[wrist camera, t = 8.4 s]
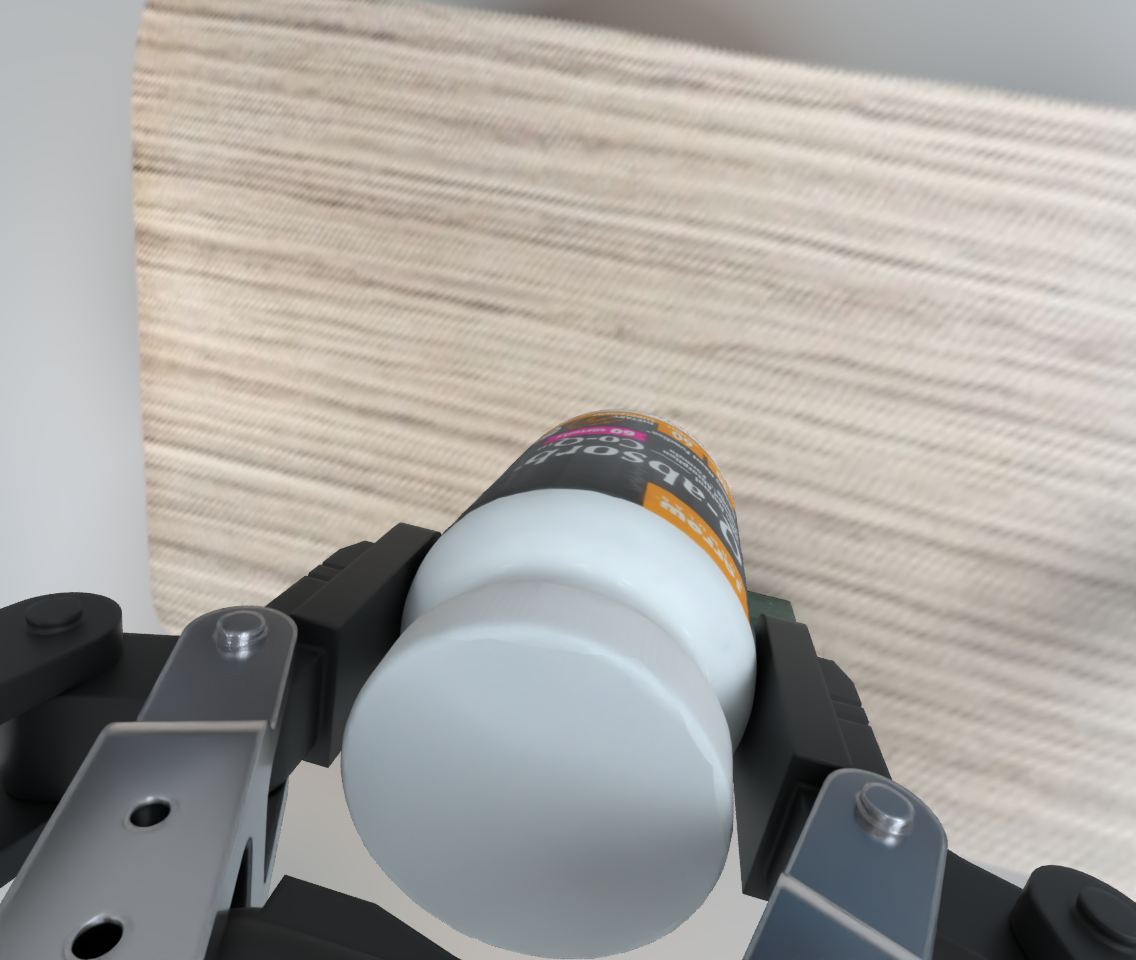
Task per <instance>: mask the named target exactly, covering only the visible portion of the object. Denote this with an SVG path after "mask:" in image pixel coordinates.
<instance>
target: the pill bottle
mask: <svg viewBox="0 0 1136 960" xmlns="http://www.w3.org/2000/svg"><path fill="white" fill-rule="evenodd" d="M756 676H757V661H756V635H755V632H754V628H753V625H752V622H751V614H750V609H749V602H748V592H747V587H746V579H745V573H744V566H743V557H742V553H741V547H740V540H739V533H738V526H737V519H736V513H735V509H734V503H733V499H732V495H731V493H730V490H729V487H728V485H727V482H726V480H725V477H724V475H723V474H722V472H721V470H720V468H719V466H718V465H717V463H716V462H715V460H714V459H713V458H712V456H711V455H710V453H709V452H708V451H707V450H706V449H705V448H704V447H703V445H702V444H701V443H700V442H699V441H697V440H696V439H695V438H694V437H693V436H691V435H690V434H689V433H688V432H686V431H685V430H683V429H682V428H680V427H679V426H677V425H675V424H673V423H671V422H669V421H667V420H665V419H662V418H660V417H657V416H654V415H651V414H647V413H643V412H639V411H632V410H624V409H611V410H600V411H594V412H590V413H586V414H583V415H579V416H577V417H574V418H572V419H569V420H567V421H565V422H563V423H561V424H559V425H558V426H556V427H555V428H553V429H552V430H550V431H549V432H547V433H546V434H545V435H543V436H542V437H541V438H540V439H538V440H537V441H536V442H535V443H534V444H533V445H532V446H531V447H530V448H528V449H527V450H526V451H525V452H524V453H523V454H522V455H521V456H520V457H519V458H518V459H517V460H516V461H515V462H514V463H513V464H512V465H511V466H510V467H509V468H508V469H507V470H506V471H505V472H504V473H503V474H502V476H501V477H500V478H499V479H498V480H497V481H495V482H494V483H493V484H492V485H491V486H490V487H489V488H488V489H487V490H486V491H485V492H484V493H482V495H481V496H480V497H479V498H478V499H477V500H476V501H475V502H474V503H473V504H472V505H471V506H470V507H469V508H468V509H467V510H466V511H465V512H464V513H463V514H462V515H461V516H460V517H459V518H458V519H457V520H456V521H455V522H454V523H453V524H452V525H451V526H450V527H449V528H448V529H447V530H445V532H444V533H443V534H442V535H441V537H440V538H439V539H438V540H437V541H436V543H435V544H434V545H433V546H432V548H431V549H430V550H429V552H428V554H427V555H426V557H425V558H424V560H423V562H422V563H421V565H420V567H419V569H418V571H417V573H416V575H415V577H414V579H413V582H412V584H411V587H410V589H409V592H408V595H407V598H406V601H405V605H404V609H403V614H402V621H401V629H400V637H399V638H398V639H397V641H396V642H395V643H394V645H393V646H392V647H391V649H390V650H389V651H388V653H387V654H386V655H385V657H384V658H383V659H382V661H381V662H380V663H379V665H378V666H377V667H376V669H375V670H374V671H373V673H372V674H371V675H370V677H369V678H368V680H367V681H366V683H365V684H364V686H363V687H362V689H361V690H360V692H359V694H358V696H357V698H356V700H355V702H354V704H353V706H352V709H351V712H350V714H349V717H348V720H347V723H346V726H345V730H344V734H343V742H342V750H341V776H342V783H343V788H344V794H345V798H346V802H347V805H348V808H349V812H350V815H351V818H352V820H353V823H354V826H355V828H356V830H357V832H358V833H359V835H360V837H361V839H362V842H363V844H364V846H365V847H366V848H367V850H368V852H369V853H370V855H371V856H372V857H373V859H374V860H375V861H376V862H377V864H378V865H379V866H380V867H381V869H382V870H383V871H384V872H385V874H386V875H387V876H388V877H389V878H390V879H391V880H392V881H393V882H394V883H395V884H396V885H397V886H398V887H399V888H400V889H401V890H402V891H403V892H404V893H405V894H406V895H407V896H408V897H409V898H410V899H412V900H413V901H414V902H415V903H416V904H418V905H419V906H420V907H422V908H423V909H424V910H426V911H427V912H428V913H430V914H431V915H433V916H434V917H436V918H438V919H439V920H441V921H442V922H444V923H446V924H447V925H449V926H450V927H452V928H453V929H455V930H457V931H459V932H461V933H463V934H465V935H467V936H469V937H471V938H475V939H478V940H480V941H482V942H485V943H487V944H489V945H492V946H495V947H498V948H502V949H506V950H510V951H513V952H517V953H522V954H526V955H531V956H538V957H543V958H554V959H555V958H556V959H577V958H578V959H583V958H584V959H594V958H599V957H605V956H610V955H615V954H619V953H624V952H628V951H631V950H634V949H637V948H639V947H642V946H645V945H647V944H650V943H652V942H654V941H656V940H657V939H660V938H661V937H663V936H665V935H667V934H669V933H671V932H672V931H674V930H675V929H676V928H678V927H679V926H680V925H681V924H682V923H684V922H685V921H686V920H687V919H688V918H689V917H690V916H691V915H692V914H693V913H694V912H695V911H696V910H697V909H698V908H699V907H700V906H701V905H702V904H703V903H704V901H705V900H706V898H707V897H708V895H709V894H710V893H711V891H712V890H713V888H714V886H715V885H716V883H717V881H718V879H719V877H720V875H721V873H722V870H723V868H724V866H725V862H726V859H727V855H728V851H729V847H730V842H731V837H732V832H733V756H732V755H733V754H734V752H735V750H736V749H737V747H738V745H739V743H740V741H741V739H742V737H743V735H744V732H745V729H746V726H747V723H748V721H749V718H750V715H751V712H752V706H753V701H754V695H755V687H756Z"/></svg>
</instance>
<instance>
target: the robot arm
mask: <svg viewBox="0 0 1136 960" xmlns="http://www.w3.org/2000/svg"><path fill="white" fill-rule="evenodd" d="M440 537H441V533H440V532H438V531H434V530H430V529H426V528H422V527H418V526H414V525H410V524H406V523H398V524H397V525H396V526H395V527H393V528H392V529H391V530H390V531H389V532H387V533H386V534H385V535H384V536H383V537H381V538H380V539H379V540H378V541H377V542H375V543H372V542H369V541H363V542H360V543H357V544H354V545H351V546H348V547H345V548H342V549H339V550H338V551H337V552H335V553H334V554H333V555H331V556H330V557H329V558H328V559H326V560H325V561H324V562H323V564H322V565H318V566H317V567H316V568H315V569H313V570H312V571H311V572H309V574H308V576H304V577H303V578H301V579H300V580H299V581H298V582H296V583H295V584H294V585H292V586H291V587H290V588H288V589H287V590H286V591H285V592H283V593H282V594H281V595H279V596H278V597H277V598H275V599H274V600H273V601H271V602H270V603H269V604H268V605H266V606H265V607H262V606H234V607H228V608H222V609H219V610H215V611H212V612H209V613H206V614H204V615H202V616H200V617H198V618H197V619H195V620H194V621H192V622H191V623H190V624H189V625H187V626H186V628H185V629H184V630H183V632H182V634H181V636H171V635H154V634H137V633H123V629H122V610H121V608H120V607H119V605H118V604H117V603H116V602H115V601H114V600H112V599H110V598H107V597H105V596H102V595H97V594H92V593H80V592H70V593H56V594H49V595H43V596H38V597H34V598H30V599H27V600H24V601H20V602H18V603H15V604H12V605H10V606H7V607H4V608H2V609H0V888H1V887H3V886H4V885H5V884H7V883H8V882H10V881H11V880H12V879H14V878H15V877H16V878H15V879H14V881H13V883H12V885H11V886H10V888H9V890H8V892H7V893H6V895H5V897H4V898H3V900H2V902H1V903H0V960H460V959H459V958H457V957H455V956H454V955H452V954H451V953H449V952H448V951H446V950H444V949H443V948H441V947H440V946H438V945H437V944H435V943H434V942H432V941H431V940H429V939H428V938H426V937H425V936H423V935H422V934H420V933H419V932H417V931H416V930H414V929H413V928H411V927H410V926H408V925H407V924H405V923H404V922H402V921H401V920H399V919H398V918H396V917H395V916H393V915H392V914H390V913H389V912H387V911H386V910H384V909H383V908H381V907H380V906H378V905H377V904H375V903H372V902H368V901H365V900H362V899H359V898H356V897H353V896H350V895H347V894H344V893H341V892H337V891H334V890H331V889H328V888H325V887H322V886H319V885H316V884H313V883H309V882H306V881H303V880H300V879H296V878H294V877H291V876H288V875H284V877H283V878H282V880H281V881H280V883H279V884H278V885H277V887H276V888H275V890H274V891H273V893H272V894H271V896H270V897H269V899H268V900H267V898H268V892H269V887H270V882H271V877H272V872H273V867H274V862H275V857H276V851H277V846H278V841H279V836H280V831H281V826H282V821H283V815H284V810H285V805H286V800H287V795H288V782H289V775H290V774H291V772H292V771H293V770H294V769H295V768H296V766H297V765H298V764H299V763H300V762H301V760H303V761H306V762H310V763H313V764H317V765H320V766H323V767H327V768H328V767H329V766H330V765H331V764H332V762H333V761H334V759H335V758H336V757H337V755H338V754H339V753H340V751H341V750H342V742H343V734H344V730H345V726H346V723H347V720H348V717H349V714H350V712H351V709H352V706H353V704H354V702H355V700H356V698H357V696H358V694H359V692H360V690H361V689H362V687H363V686H364V684H365V683H366V681H367V680H368V678H369V677H370V675H371V674H372V673H373V671H374V670H375V669H376V667H377V666H378V665H379V663H380V662H381V661H382V659H383V658H384V657H385V655H386V654H387V653H388V651H389V650H390V649H391V647H392V646H393V645H394V643H395V642H396V641H397V639H398V638H399V637H400V629H401V621H402V614H403V609H404V605H405V601H406V598H407V595H408V592H409V589H410V587H411V584H412V582H413V579H414V577H415V575H416V573H417V571H418V569H419V567H420V565H421V563H422V562H423V560H424V558H425V557H426V555H427V554H428V552H429V550H430V549H431V548H432V546H433V545H434V544H435V543H436V541H437V540H438V539H439V538H440ZM754 632H755V635H756V661H757V676H756V687H755V695H754V701H753V706H752V712H751V715H750V718H749V721H748V723H747V726H746V729H745V732H744V735H743V737H742V739H741V741H740V743H739V745H738V747H737V749H736V750H735V752H734V754H733V755H732V756H733V783H734V795H735V806H736V819H737V831H738V844H739V856H740V868H741V881H742V892H743V894H745V895H749V896H752V897H756V898H759V899H762V900H766V901H768V903H767V906H766V908H765V910H764V912H763V915H762V917H761V919H760V921H759V924H758V926H757V929H756V930H755V933H754V935H753V937H752V939H751V942H750V944H749V946H748V948H747V950H746V953H745V955H744V957H743V959H742V960H1136V903H1135V902H1134V901H1132V900H1131V899H1130V898H1128V897H1127V896H1125V895H1124V894H1123V893H1121V892H1119V891H1118V890H1116V889H1115V888H1113V887H1111V886H1110V885H1108V884H1106V883H1104V882H1102V881H1100V880H1099V879H1097V878H1095V877H1092V876H1090V875H1088V874H1086V873H1083V872H1081V871H1078V870H1075V869H1072V868H1068V867H1063V866H1057V865H1046V866H1041V867H1039V868H1036V869H1035V870H1034V871H1033V872H1032V874H1031V876H1030V878H1029V879H1028V881H1027V883H1026V885H1025V887H1024V889H1021V888H1019V887H1018V886H1015V885H1014V884H1011V883H1010V882H1008V881H1006V880H1004V879H1002V878H1000V877H998V876H996V875H994V874H992V873H990V872H988V871H986V870H984V869H982V868H980V867H978V866H976V865H974V864H972V863H970V862H968V861H967V860H965V859H963V858H961V857H959V856H958V855H956V854H954V853H953V852H951V851H950V850H948V849H947V848H948V840H947V837H946V833H945V831H944V829H943V826H942V824H941V823H940V821H939V820H938V818H937V817H936V816H935V814H934V813H933V812H932V811H931V810H930V808H929V807H928V806H927V805H925V804H924V803H923V802H922V801H921V800H920V799H919V798H918V797H916V796H915V795H914V794H913V793H911V792H910V791H909V790H907V789H906V788H904V787H903V786H901V785H899V784H898V783H896V782H894V781H892V778H891V776H890V773H889V771H888V768H887V766H886V763H885V761H884V758H883V756H882V753H881V751H880V748H879V746H878V743H877V741H876V738H875V736H874V733H873V731H872V728H871V726H868V723H869V721H868V718H867V716H866V713H865V711H864V708H861V705H862V703H861V701H860V698H859V696H858V693H857V691H856V688H855V686H854V683H853V682H852V681H851V680H850V678H849V677H848V676H847V675H846V674H845V673H844V672H843V671H842V670H841V669H840V668H839V667H838V666H837V665H836V663H835V662H834V661H832V660H828V659H824V658H820V657H817V655H816V652H815V649H814V646H813V643H812V640H811V636H810V633H809V630H808V628H807V626H806V624H802V623H798V622H794V621H790V620H786V619H782V618H778V617H774V616H770V615H766V614H760V615H759V617H758V619H757V621H756V623H755V626H754Z"/></svg>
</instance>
